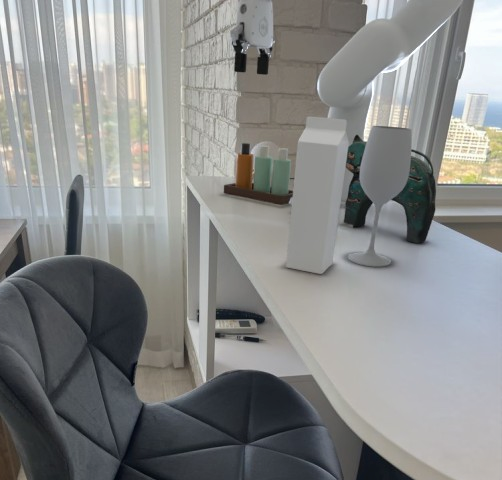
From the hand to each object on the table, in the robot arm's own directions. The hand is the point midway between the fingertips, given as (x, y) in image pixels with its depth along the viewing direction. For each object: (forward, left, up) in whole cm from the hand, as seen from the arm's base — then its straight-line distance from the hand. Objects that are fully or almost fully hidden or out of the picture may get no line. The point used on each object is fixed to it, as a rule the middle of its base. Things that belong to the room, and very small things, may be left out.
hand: (251, 73), depth 128 cm
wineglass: (-38, +53, -29) cm, 71 cm away
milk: (-29, +61, -29) cm, 73 cm away
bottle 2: (-13, +15, -28) cm, 34 cm away
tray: (-8, +13, -28) cm, 32 cm away
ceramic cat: (-39, +32, -29) cm, 58 cm away
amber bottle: (-3, +11, -28) cm, 30 cm away
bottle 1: (-8, +13, -28) cm, 32 cm away
